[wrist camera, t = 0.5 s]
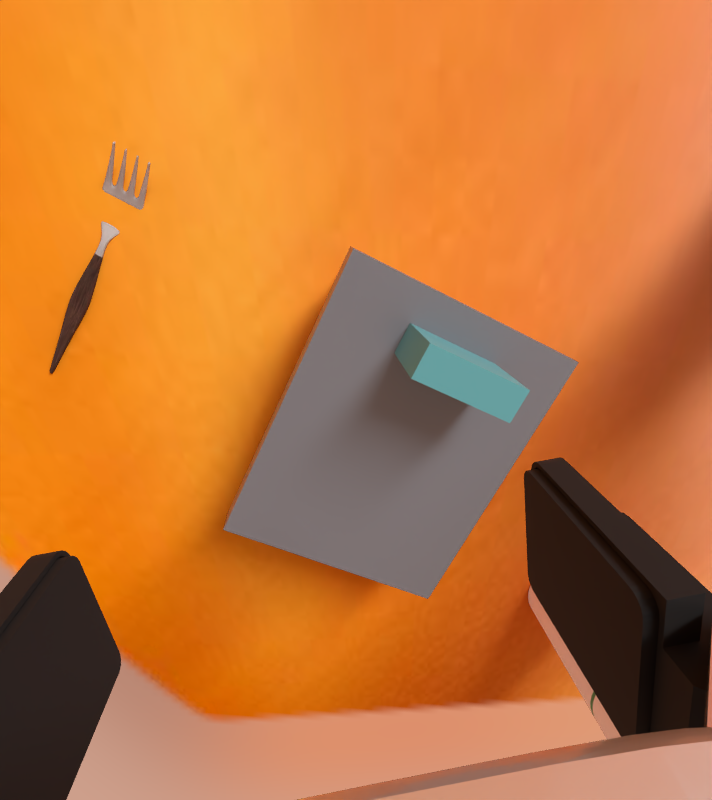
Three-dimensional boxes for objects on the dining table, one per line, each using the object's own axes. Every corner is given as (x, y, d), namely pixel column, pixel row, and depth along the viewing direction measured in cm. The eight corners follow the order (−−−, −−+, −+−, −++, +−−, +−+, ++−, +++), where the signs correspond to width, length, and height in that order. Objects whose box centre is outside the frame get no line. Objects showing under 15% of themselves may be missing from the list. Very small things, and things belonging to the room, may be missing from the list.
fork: (35, 362, 35) (20, 370, 33) (121, 143, 30) (109, 139, 29) (72, 379, 35) (60, 388, 33) (162, 167, 31) (153, 164, 29)
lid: (562, 354, 32) (627, 388, 26) (422, 579, 38) (446, 655, 31) (350, 246, 29) (363, 254, 22) (227, 512, 34) (209, 582, 28)
